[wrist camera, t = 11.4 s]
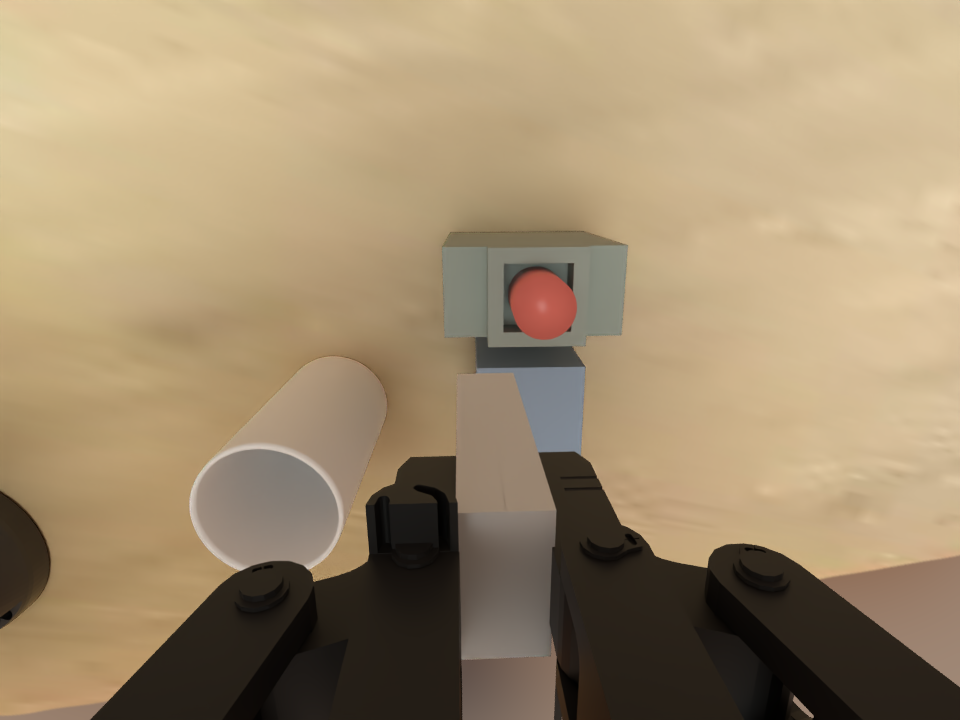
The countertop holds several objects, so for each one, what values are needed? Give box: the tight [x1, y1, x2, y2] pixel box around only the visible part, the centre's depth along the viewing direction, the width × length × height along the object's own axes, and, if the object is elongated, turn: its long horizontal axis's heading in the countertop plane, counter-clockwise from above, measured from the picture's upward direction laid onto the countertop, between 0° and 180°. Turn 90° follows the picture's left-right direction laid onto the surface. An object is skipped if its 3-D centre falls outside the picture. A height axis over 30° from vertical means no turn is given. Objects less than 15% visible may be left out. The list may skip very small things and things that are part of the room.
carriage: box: [475, 337, 585, 456], centre depth 38 cm, size 6×7×11 cm
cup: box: [189, 356, 387, 571], centre depth 36 cm, size 8×8×16 cm
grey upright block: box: [442, 231, 628, 347], centre depth 34 cm, size 11×5×14 cm, turn 90°
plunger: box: [508, 266, 577, 340], centre depth 27 cm, size 3×3×4 cm
